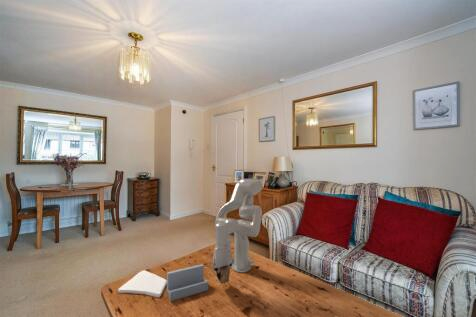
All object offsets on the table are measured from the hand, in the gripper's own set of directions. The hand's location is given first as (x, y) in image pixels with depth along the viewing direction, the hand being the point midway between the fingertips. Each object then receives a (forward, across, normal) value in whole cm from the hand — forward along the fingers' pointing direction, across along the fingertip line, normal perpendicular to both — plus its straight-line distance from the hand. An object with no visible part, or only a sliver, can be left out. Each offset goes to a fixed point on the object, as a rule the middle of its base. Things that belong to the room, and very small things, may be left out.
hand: (223, 276), depth 116 cm
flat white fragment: (+6, +36, -22) cm, 43 cm away
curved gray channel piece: (+6, +18, -7) cm, 20 cm away
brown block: (+2, 0, 0) cm, 2 cm away
